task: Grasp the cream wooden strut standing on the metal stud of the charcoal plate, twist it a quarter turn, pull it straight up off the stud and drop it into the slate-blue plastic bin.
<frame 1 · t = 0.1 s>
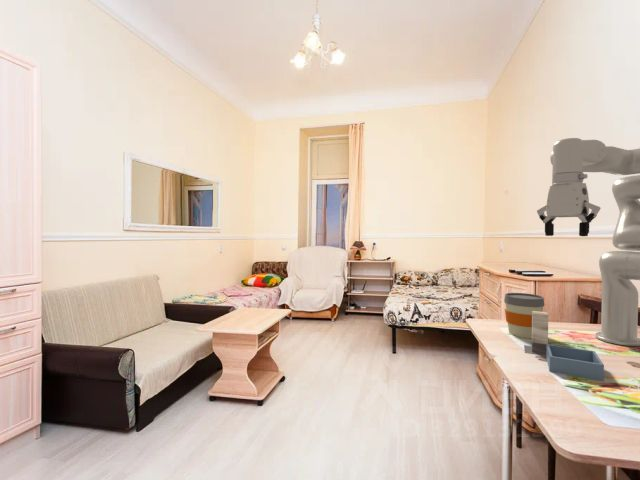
hand: (565, 235, 102), 37 cm above the table, tool pointing down, fingers open, 9 cm apart
reusable coffee cup: (523, 337, 122), on the table
bin: (572, 371, 91), on the table
stud plate: (539, 354, 104), on the table
strut: (539, 351, 104), point 1 cm above the table, touching stud plate
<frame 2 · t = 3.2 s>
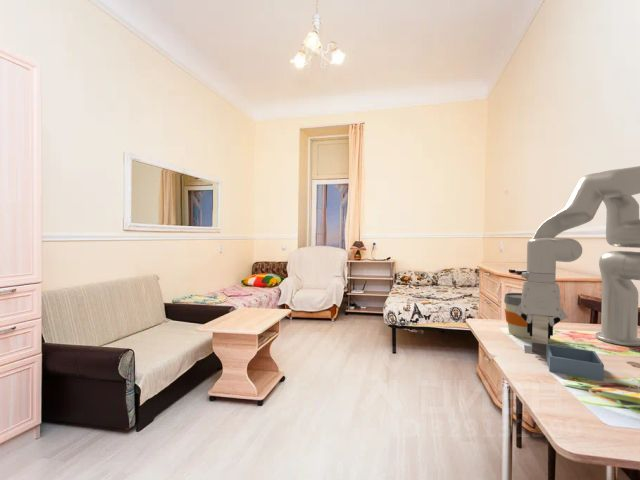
hand: (539, 335, 104), 6 cm above the table, tool pointing down, fingers closed on strut, 4 cm apart
strut: (539, 351, 104), point 1 cm above the table, touching gripper, stud plate
everything else where it was.
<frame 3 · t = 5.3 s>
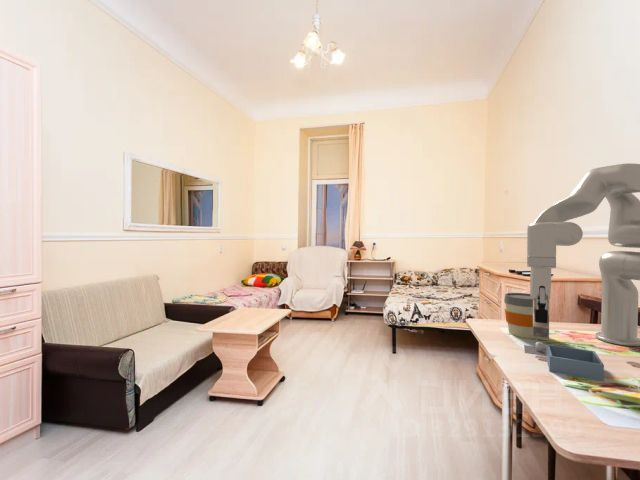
hand: (540, 320, 104), 11 cm above the table, tool pointing down, fingers closed on strut, 4 cm apart
strut: (540, 335, 104), point 6 cm above the table, touching gripper
everything else where it was.
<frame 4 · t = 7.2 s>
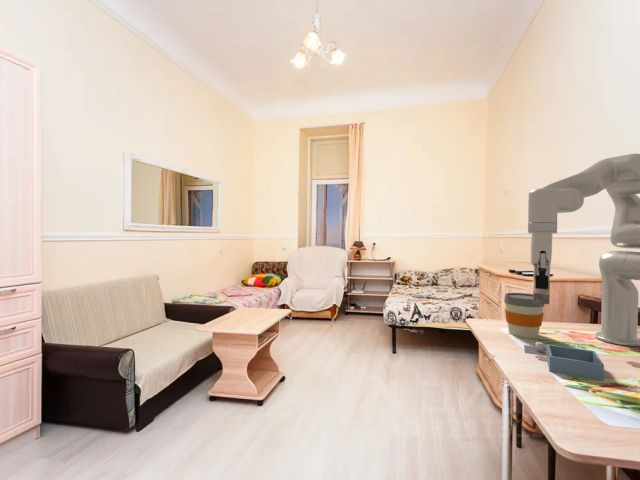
hand: (541, 287, 103), 21 cm above the table, tool pointing down, fingers closed on strut, 4 cm apart
strut: (540, 302, 104), point 16 cm above the table, touching gripper
everything else where it was.
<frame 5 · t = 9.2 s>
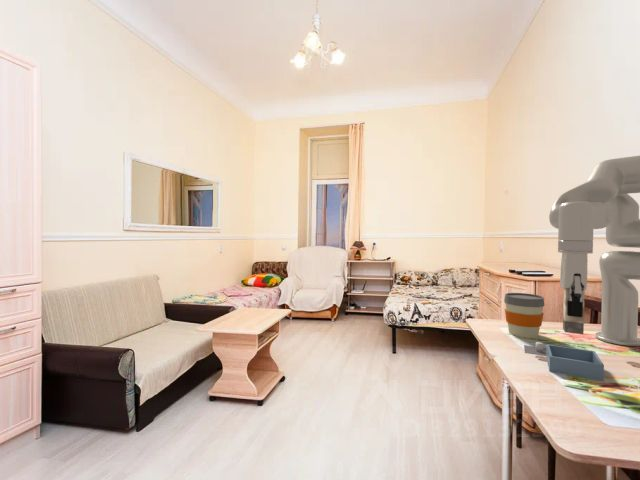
hand: (573, 313, 91), 16 cm above the table, tool pointing down, fingers closed on strut, 4 cm apart
strut: (572, 331, 91), point 11 cm above the table, touching gripper
everything else where it was.
when the fingers open (7 cm above the table, at t = 11.1 s): strut drops 1 cm, resting on bin.
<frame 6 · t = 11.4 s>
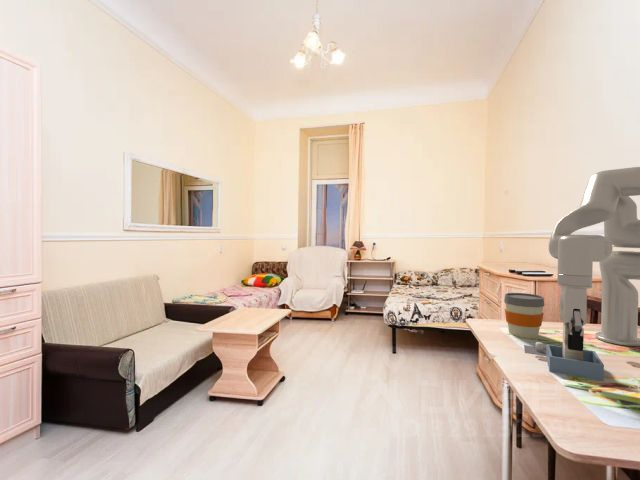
hand: (572, 345, 91), 7 cm above the table, tool pointing down, fingers open, 7 cm apart
strut: (572, 369, 91), point 1 cm above the table, touching bin
everything else where it was.
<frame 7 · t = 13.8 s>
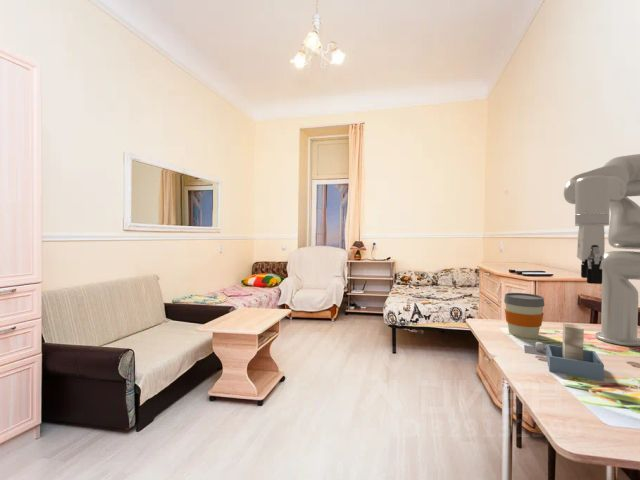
hand: (591, 280, 95), 25 cm above the table, tool pointing down, fingers open, 9 cm apart
nothing on the table moved.
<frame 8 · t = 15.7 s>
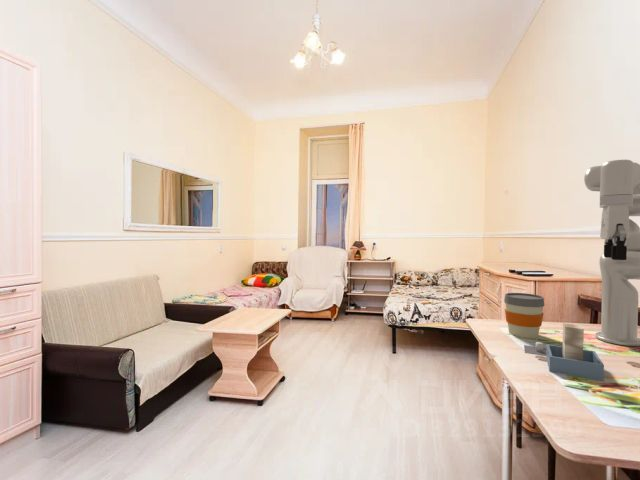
hand: (614, 258, 101), 30 cm above the table, tool pointing down, fingers open, 9 cm apart
nothing on the table moved.
at the end: strut inside the target area on the bin (0.2 cm from its centre), point 0.6 cm above the bin's base; the gripper is holding nothing; strut moved 12.9 cm from its start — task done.
